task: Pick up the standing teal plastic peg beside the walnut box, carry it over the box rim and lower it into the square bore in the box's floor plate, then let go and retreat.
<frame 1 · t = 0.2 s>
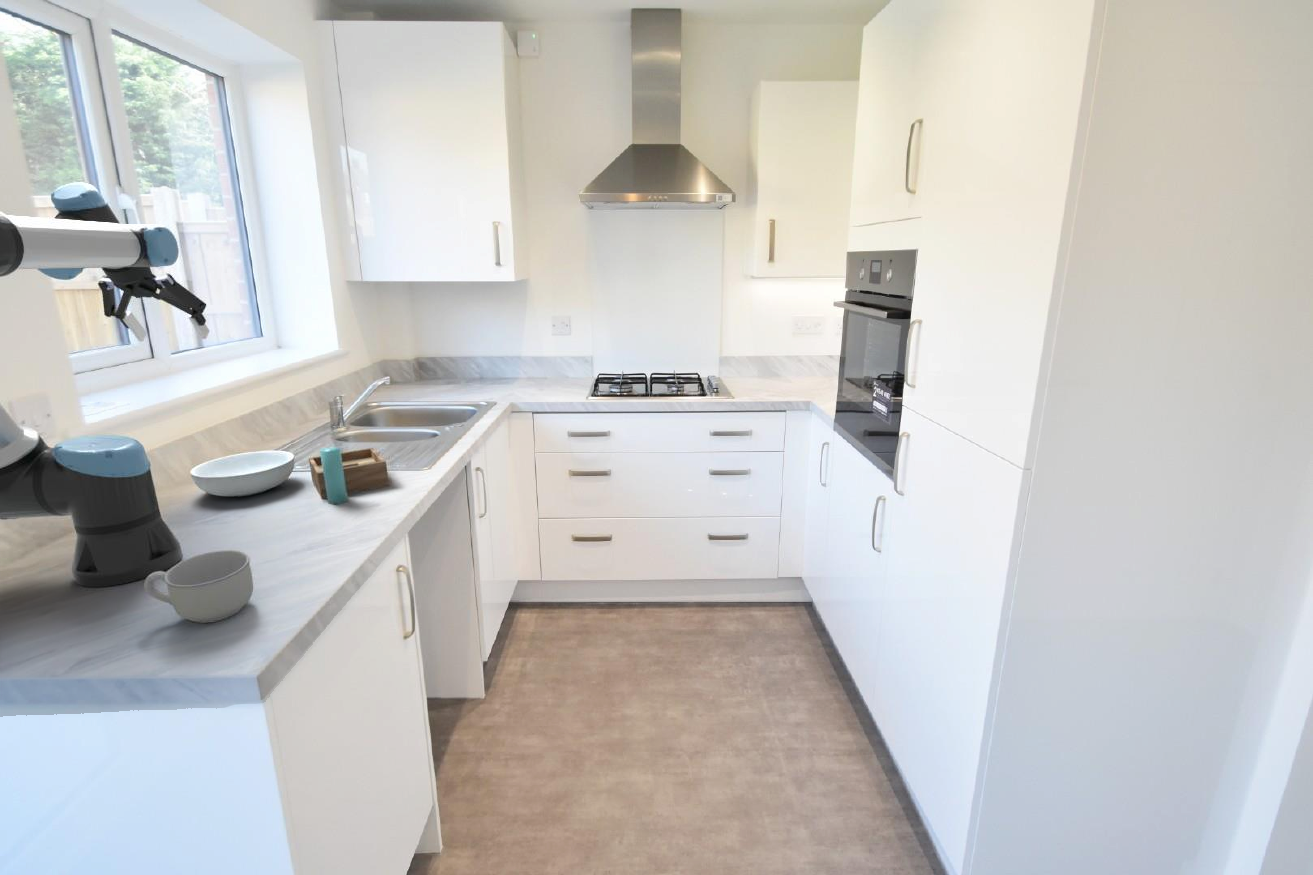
hand: (175, 336, 152), 36 cm above the worktop, tool tilted 35°, fingers open, 13 cm apart
bore box: (350, 483, 158), on the worktop
peg: (338, 500, 147), on the worktop
teacup: (207, 614, 101), on the worktop
serving bowl: (249, 491, 155), on the worktop
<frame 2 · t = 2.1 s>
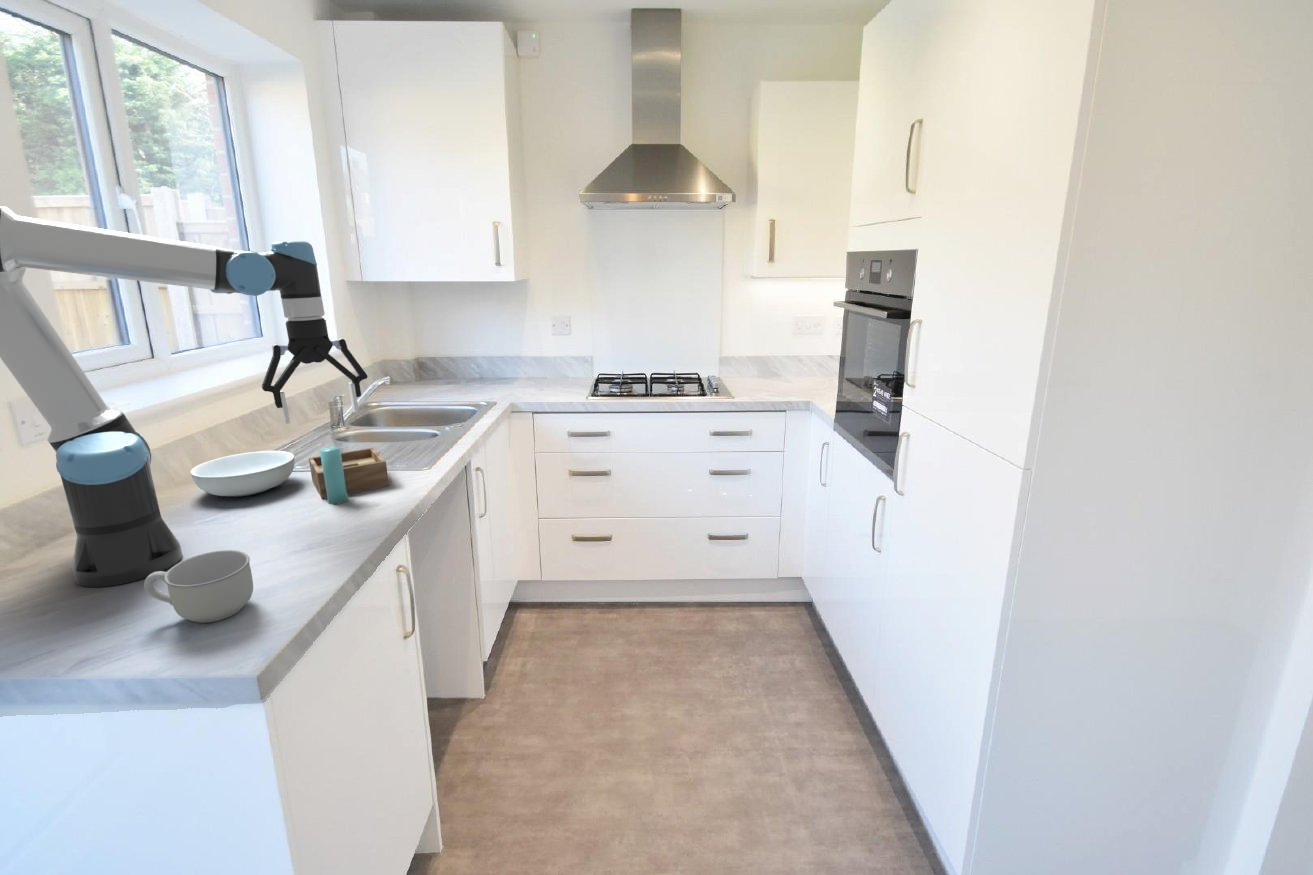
hand: (322, 417, 143), 19 cm above the worktop, tool pointing down, fingers open, 13 cm apart
nothing on the worktop moved.
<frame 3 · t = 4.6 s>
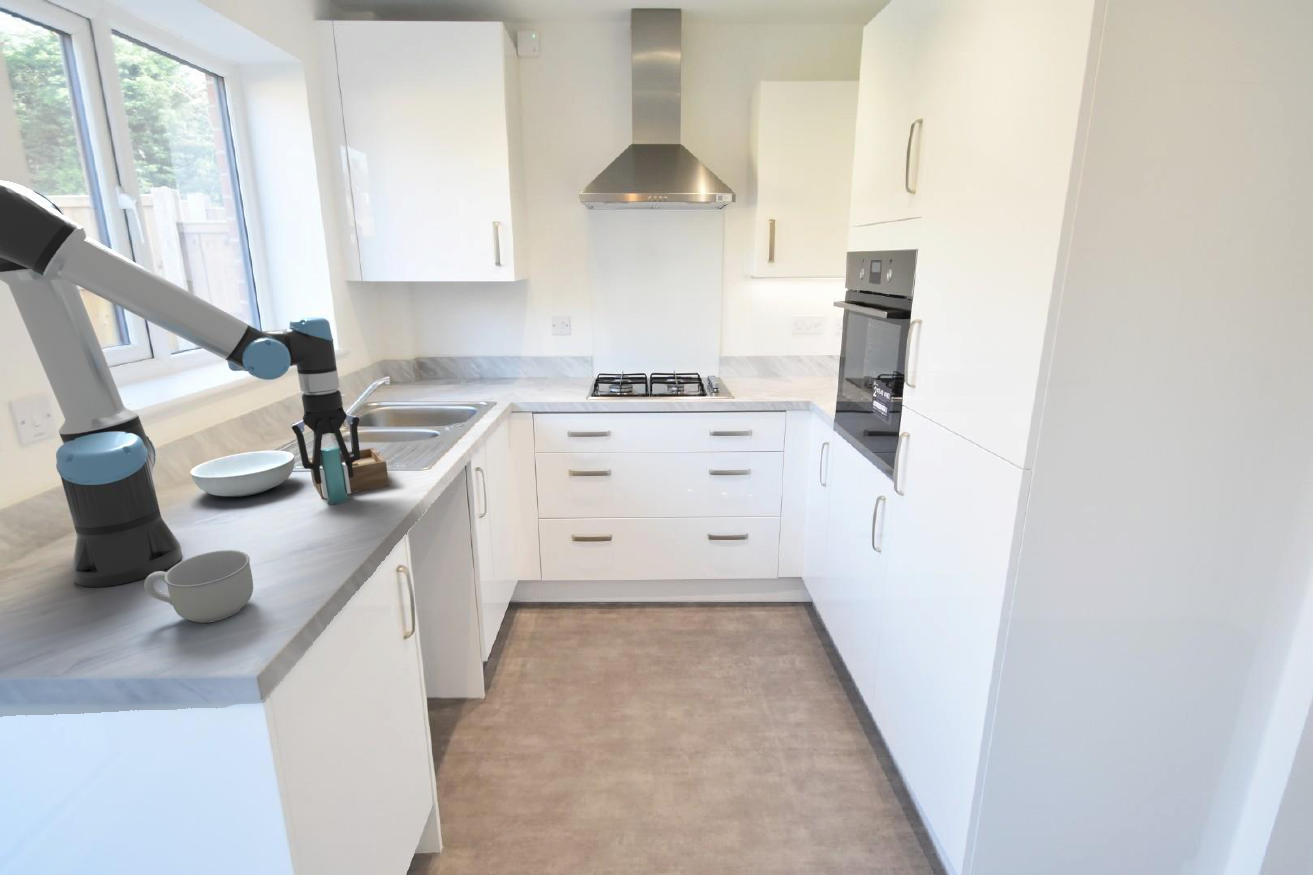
hand: (336, 493, 146), 2 cm above the worktop, tool pointing down, fingers closed on peg, 4 cm apart
peg: (337, 500, 147), on the worktop, touching gripper
everything else where it was.
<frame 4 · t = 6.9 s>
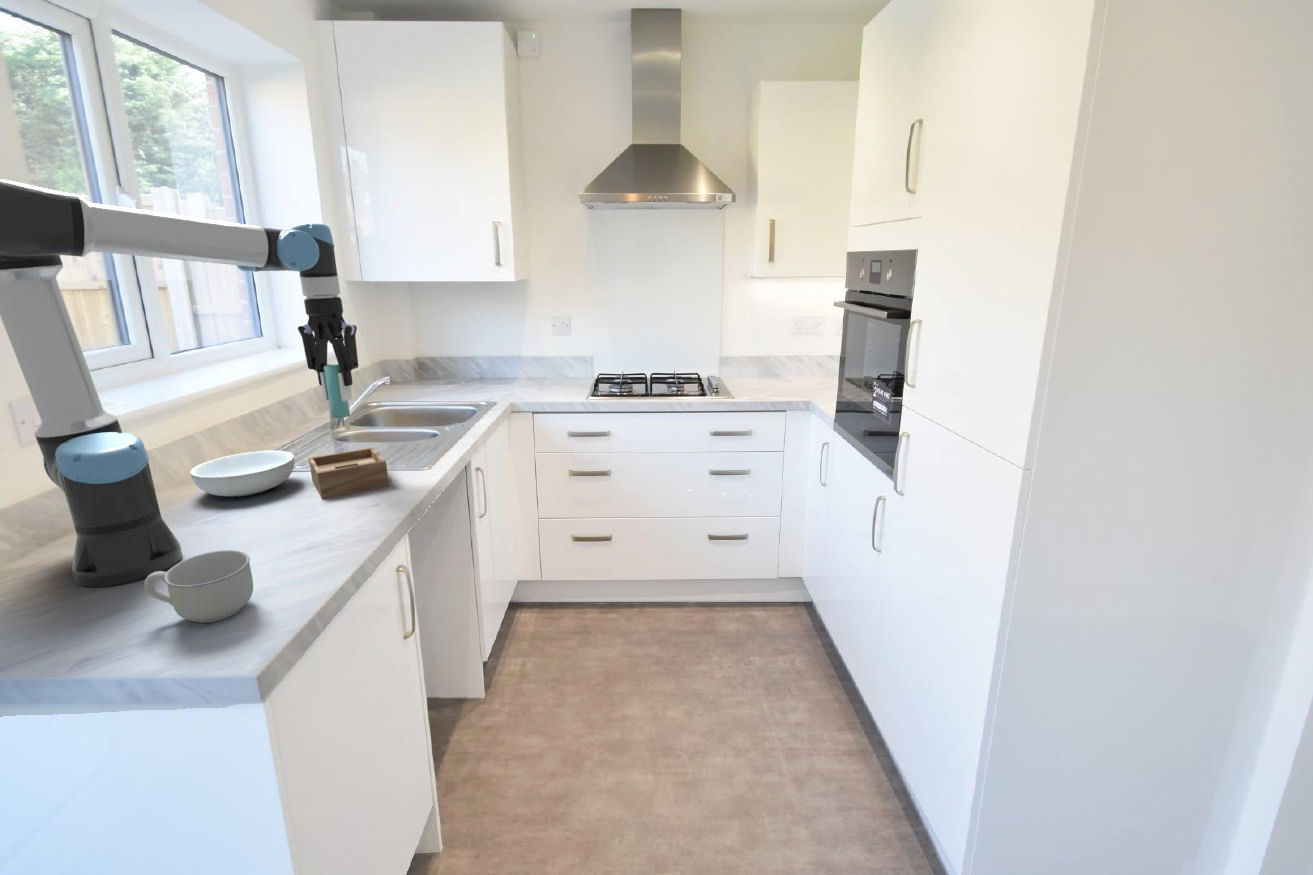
hand: (338, 399, 152), 21 cm above the worktop, tool pointing down, fingers closed on peg, 4 cm apart
peg: (340, 415, 153), point 17 cm above the worktop, touching gripper
everything else where it was.
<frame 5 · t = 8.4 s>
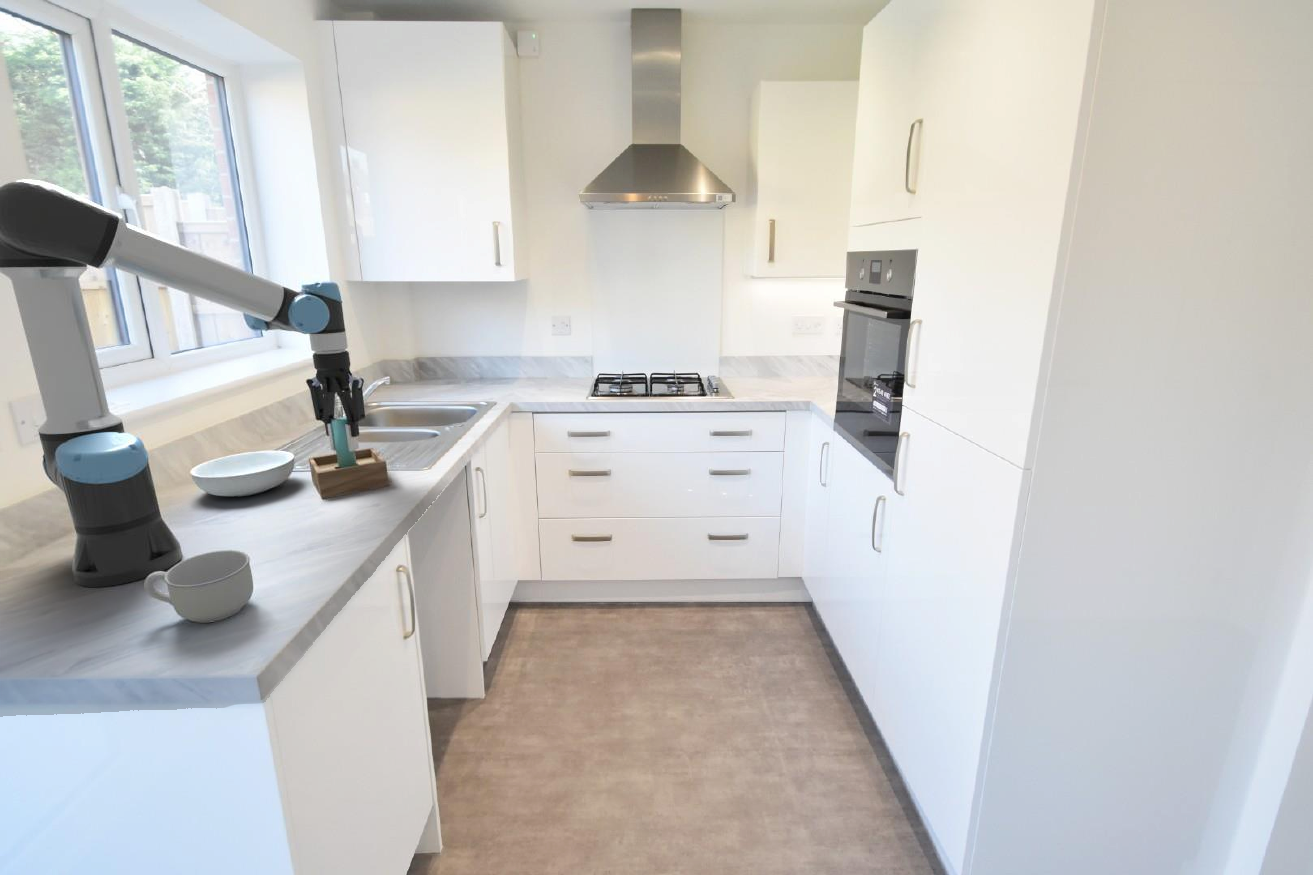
hand: (345, 449, 156), 9 cm above the worktop, tool pointing down, fingers closed on peg, 4 cm apart
peg: (348, 468, 157), point 4 cm above the worktop, touching gripper
everything else where it was.
when the fingers open (5 cm above the worktop, at t = 9.3 s): peg stays where it is, resting in bore box.
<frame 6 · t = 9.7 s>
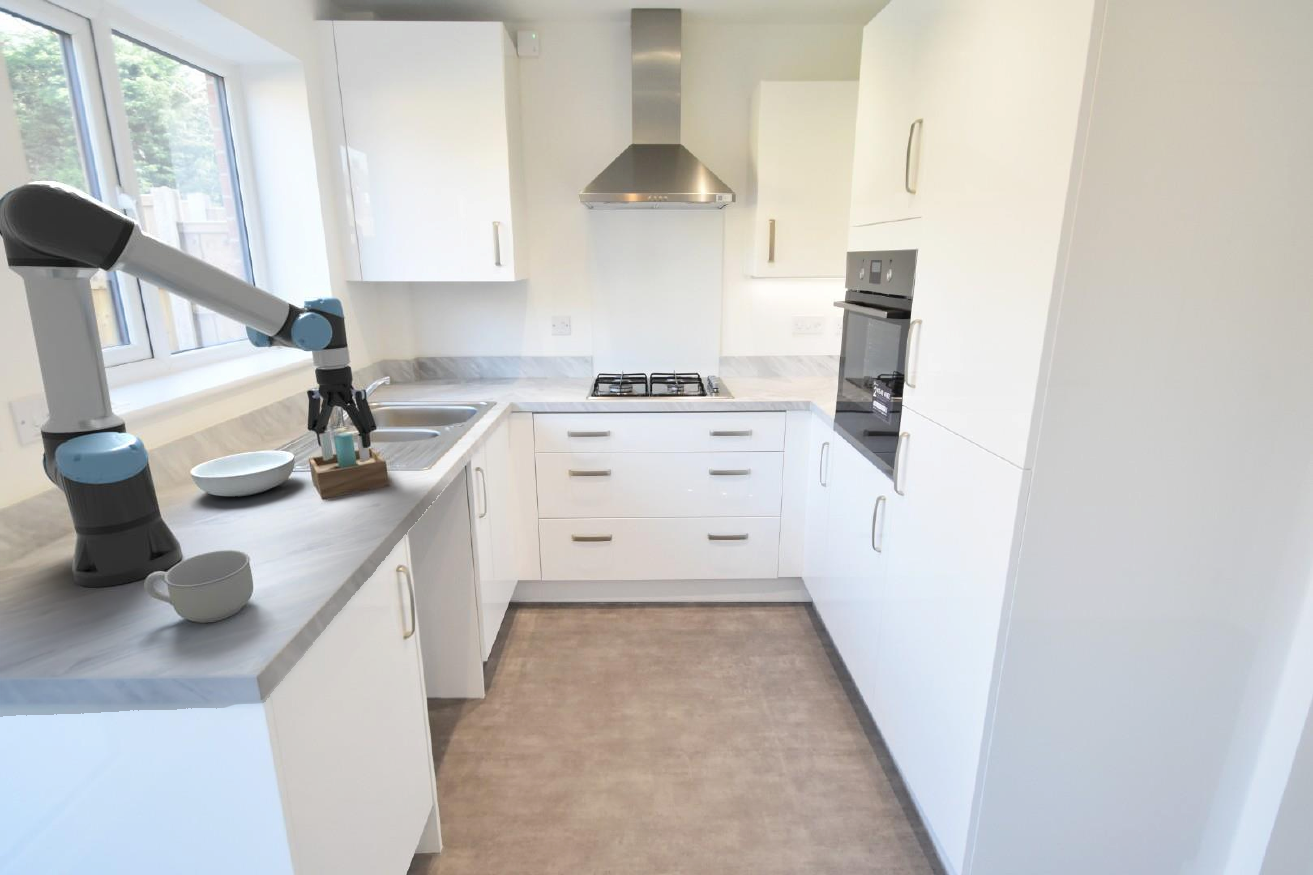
hand: (346, 459, 156), 6 cm above the worktop, tool pointing down, fingers open, 9 cm apart
peg: (350, 483, 158), resting in bore box
everything else where it was.
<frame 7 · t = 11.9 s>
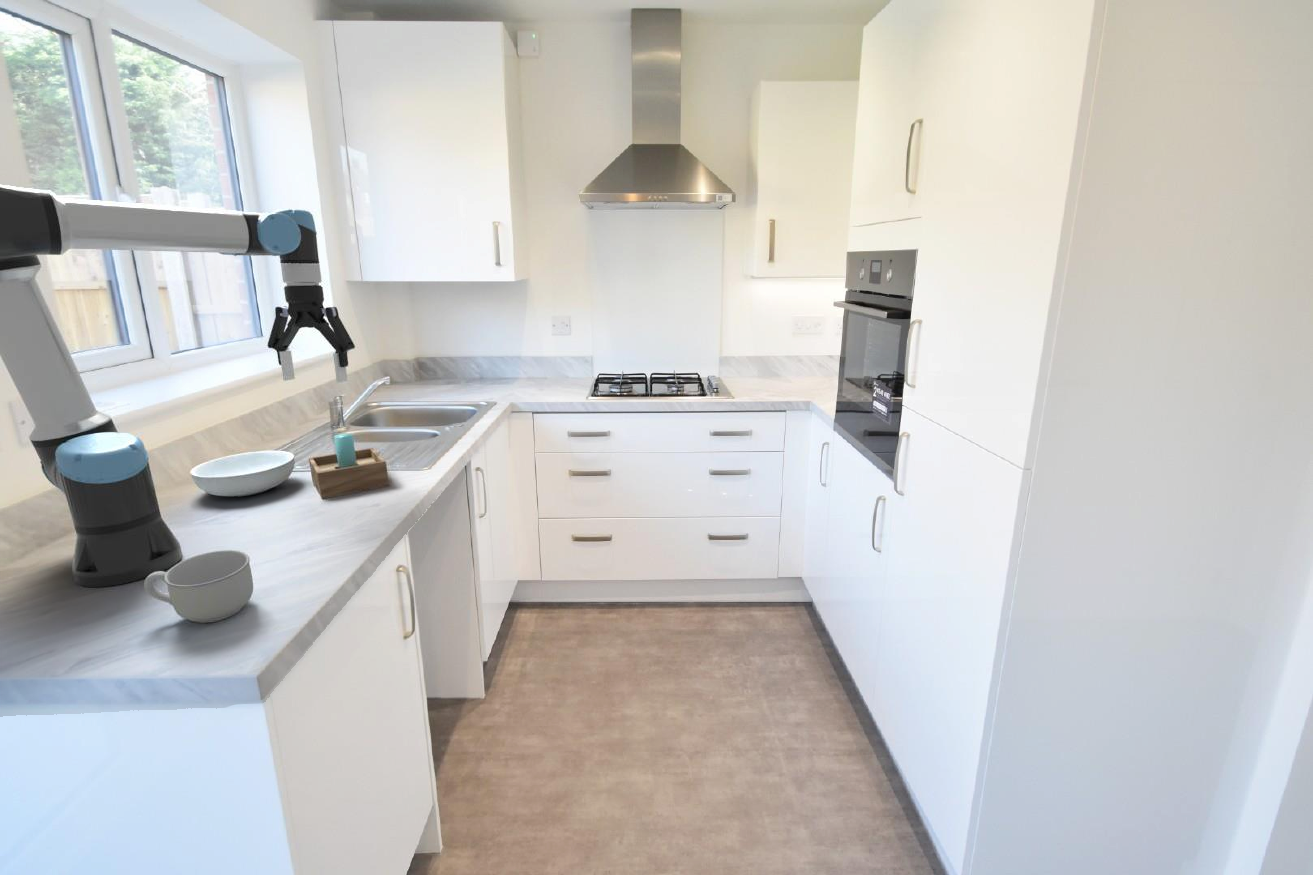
hand: (315, 380, 149), 26 cm above the worktop, tool pointing down, fingers open, 13 cm apart
nothing on the worktop moved.
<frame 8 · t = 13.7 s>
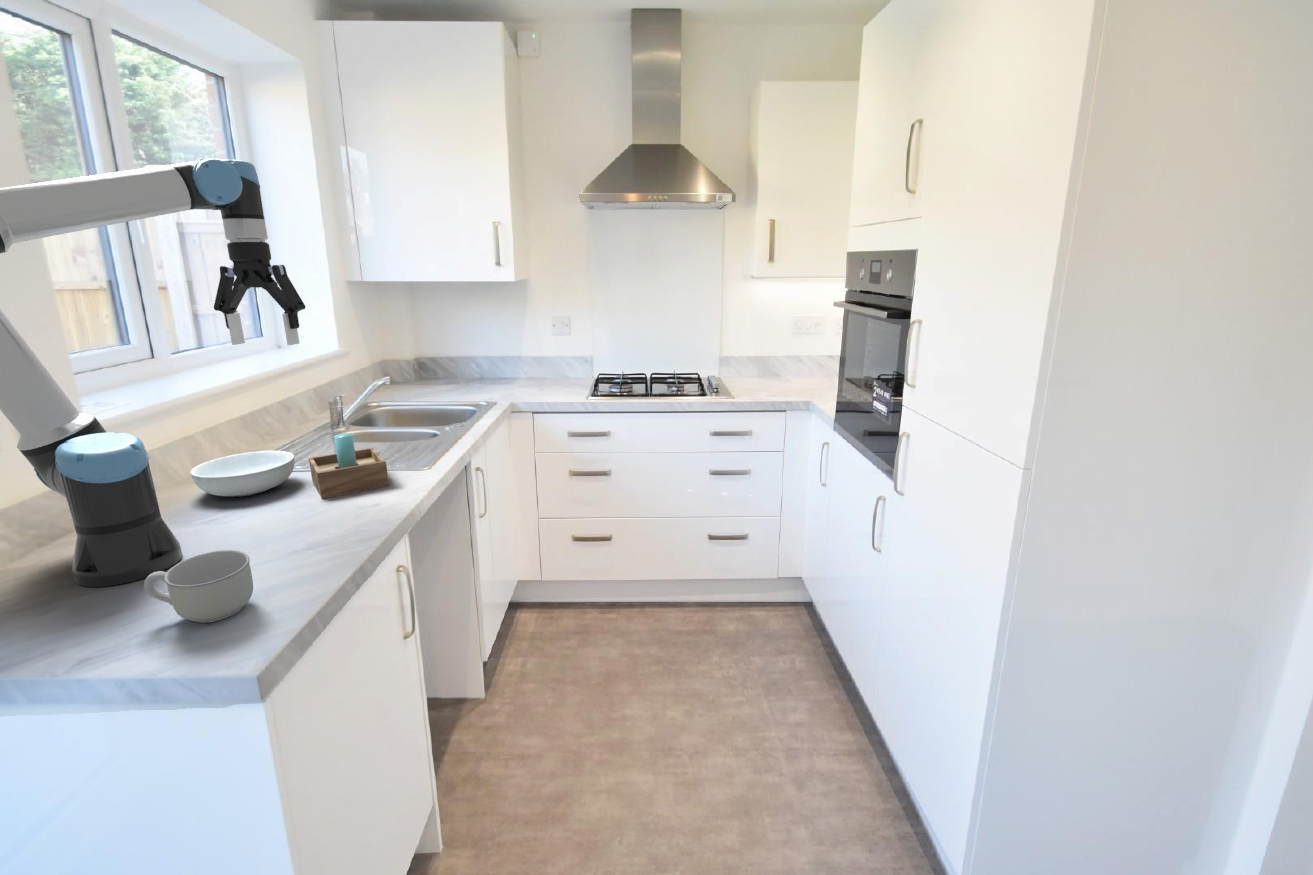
hand: (265, 344, 141), 35 cm above the worktop, tool pointing down, fingers open, 13 cm apart
nothing on the worktop moved.
at the end: peg 0.1 cm off-centre on the bore box, point 0.0 cm above the bore box's base; peg tilted 0°; the gripper is holding nothing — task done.
